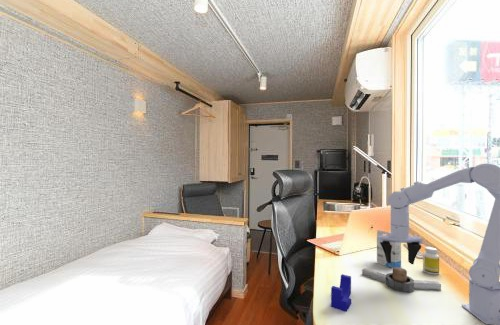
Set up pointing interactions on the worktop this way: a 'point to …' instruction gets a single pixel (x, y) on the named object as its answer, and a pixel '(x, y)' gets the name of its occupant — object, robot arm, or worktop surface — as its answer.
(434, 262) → the supplement bottle
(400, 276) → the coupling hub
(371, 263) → the worktop surface
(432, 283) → the coupling collar
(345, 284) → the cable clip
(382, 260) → the ink box
